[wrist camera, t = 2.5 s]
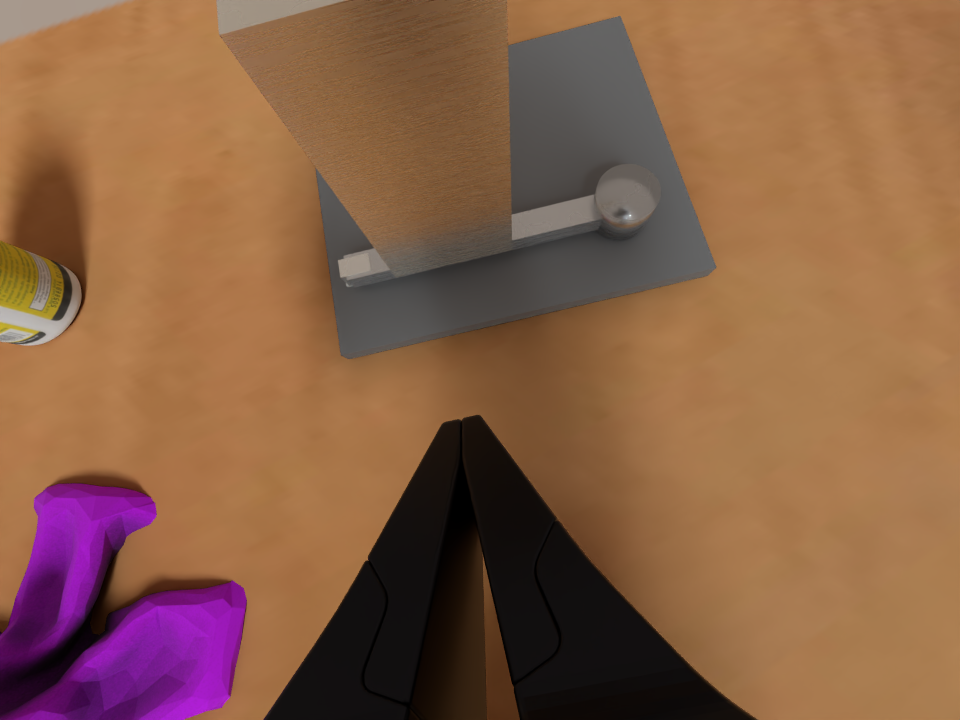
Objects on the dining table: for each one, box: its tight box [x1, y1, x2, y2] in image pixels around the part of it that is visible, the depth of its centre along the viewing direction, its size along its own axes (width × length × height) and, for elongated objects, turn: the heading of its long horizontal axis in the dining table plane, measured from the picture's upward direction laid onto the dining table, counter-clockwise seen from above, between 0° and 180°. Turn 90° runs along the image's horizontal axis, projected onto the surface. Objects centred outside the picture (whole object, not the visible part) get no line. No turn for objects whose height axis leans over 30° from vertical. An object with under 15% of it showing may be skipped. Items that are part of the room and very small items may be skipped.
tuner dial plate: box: [315, 16, 716, 359], centre depth 23 cm, size 20×17×1 cm
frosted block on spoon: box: [217, 0, 661, 288], centre depth 14 cm, size 16×3×13 cm, turn 102°
